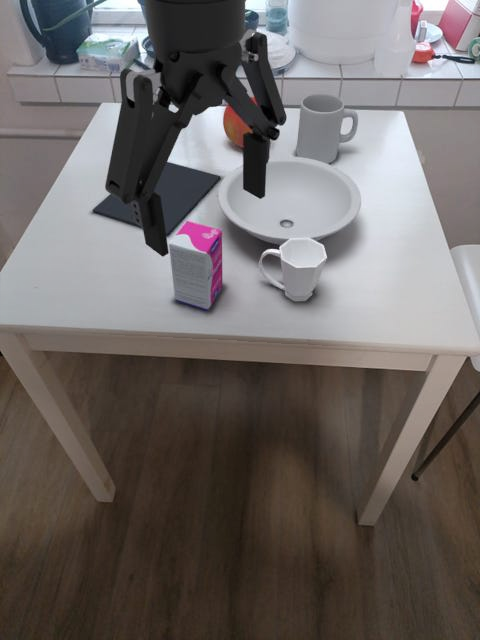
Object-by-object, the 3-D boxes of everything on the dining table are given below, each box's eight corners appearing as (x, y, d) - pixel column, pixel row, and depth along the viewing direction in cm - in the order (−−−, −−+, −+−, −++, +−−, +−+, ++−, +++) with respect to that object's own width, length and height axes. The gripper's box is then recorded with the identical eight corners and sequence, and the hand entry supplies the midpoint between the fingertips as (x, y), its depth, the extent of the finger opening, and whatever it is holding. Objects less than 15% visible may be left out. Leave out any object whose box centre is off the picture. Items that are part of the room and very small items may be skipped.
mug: (300, 167, 100) (305, 114, 91) (292, 145, 105) (296, 94, 97) (357, 163, 100) (367, 110, 92) (347, 142, 106) (355, 91, 98)
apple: (275, 152, 104) (277, 105, 96) (232, 160, 101) (232, 113, 94) (258, 131, 110) (259, 85, 102) (218, 138, 107) (216, 92, 100)
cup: (315, 312, 73) (321, 273, 67) (251, 297, 75) (252, 257, 69) (325, 281, 77) (332, 242, 71) (265, 268, 79) (266, 228, 73)
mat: (93, 212, 90) (92, 209, 89) (152, 160, 102) (151, 157, 101) (167, 236, 85) (167, 233, 85) (220, 178, 97) (220, 176, 96)
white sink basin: (191, 233, 85) (188, 201, 80) (269, 173, 98) (271, 142, 93) (308, 291, 76) (312, 259, 71) (378, 216, 88) (386, 185, 83)
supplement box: (209, 312, 73) (205, 254, 64) (174, 301, 74) (165, 243, 66) (224, 287, 77) (222, 228, 68) (190, 277, 78) (184, 219, 69)
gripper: (70, 35, 28) (132, 297, 44) (341, -44, 39) (312, 186, 55) (7, 6, 31) (86, 257, 47) (273, -59, 43) (264, 160, 59)
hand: (208, 219), depth 51 cm, fingers open, 13 cm apart
